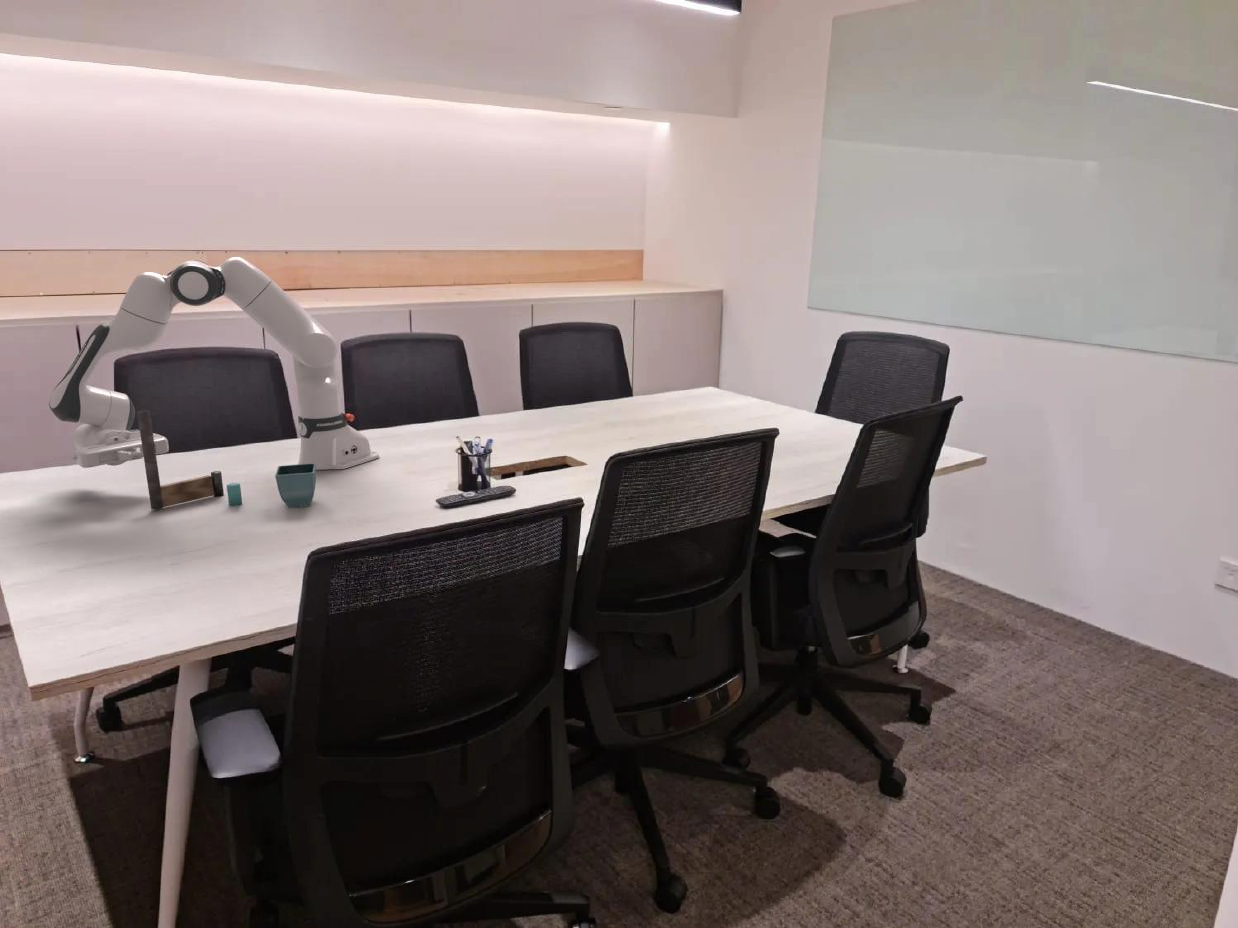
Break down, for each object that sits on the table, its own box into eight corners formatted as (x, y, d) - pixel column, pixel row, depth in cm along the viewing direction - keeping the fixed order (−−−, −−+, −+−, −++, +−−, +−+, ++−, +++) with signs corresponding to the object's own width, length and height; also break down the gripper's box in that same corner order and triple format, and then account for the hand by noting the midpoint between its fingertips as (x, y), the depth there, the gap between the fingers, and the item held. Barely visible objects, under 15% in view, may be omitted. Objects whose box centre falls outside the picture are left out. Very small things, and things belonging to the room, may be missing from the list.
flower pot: (278, 511, 211) (274, 475, 209) (281, 500, 219) (278, 465, 217) (317, 508, 213) (314, 472, 211) (319, 497, 221) (315, 462, 219)
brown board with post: (209, 493, 222) (198, 401, 216) (214, 495, 221) (203, 403, 215) (149, 508, 212) (135, 411, 205) (154, 510, 210) (140, 413, 204)
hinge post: (221, 493, 225) (218, 470, 223) (225, 495, 223) (222, 472, 222) (211, 495, 223) (208, 472, 221) (216, 497, 221) (213, 474, 220)
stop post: (238, 501, 218) (236, 482, 217) (244, 504, 216) (242, 484, 215) (226, 504, 216) (224, 484, 214) (232, 507, 214) (230, 487, 213)
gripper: (64, 443, 214) (87, 452, 205) (151, 427, 229) (176, 435, 220) (68, 468, 216) (91, 478, 207) (155, 451, 231) (180, 460, 222)
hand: (136, 456), depth 214 cm, fingers closed
